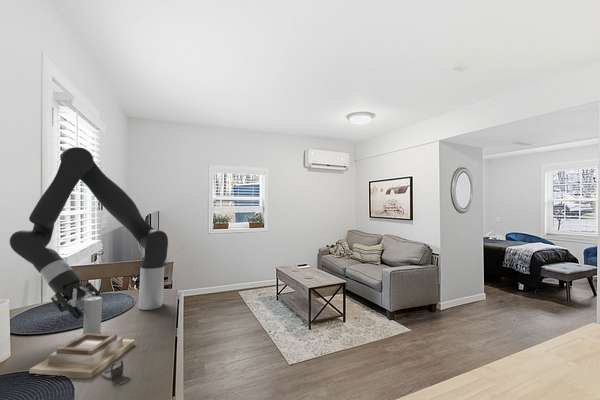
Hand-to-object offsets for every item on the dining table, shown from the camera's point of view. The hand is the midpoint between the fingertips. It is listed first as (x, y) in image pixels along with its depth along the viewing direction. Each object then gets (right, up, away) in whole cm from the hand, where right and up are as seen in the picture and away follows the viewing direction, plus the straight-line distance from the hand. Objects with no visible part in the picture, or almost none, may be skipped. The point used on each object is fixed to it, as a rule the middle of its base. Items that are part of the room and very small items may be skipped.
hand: (91, 312), depth 95 cm
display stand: (+10, -7, -15) cm, 19 cm away
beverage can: (0, -7, 0) cm, 7 cm away
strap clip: (+24, -8, -23) cm, 34 cm away
